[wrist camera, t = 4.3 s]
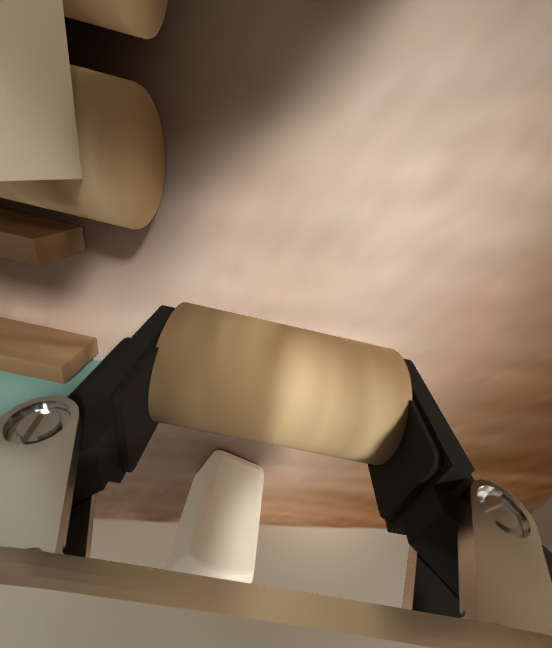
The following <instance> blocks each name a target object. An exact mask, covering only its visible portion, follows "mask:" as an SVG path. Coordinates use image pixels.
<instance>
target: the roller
mask: <svg viewBox="0 0 552 648" xmlns="http://www.w3.org/2000/svg"><path fill="white" fill-rule="evenodd" d="M156 347H159V349H158V352H157V355H156V359H155V362H154V366H153V370H152V375H151V380H150V387H149V396H148V408H149V414H150V417H151V419H152V420H153V421H156V422H161V423H166V424H171V425H176V426H181V427H186V428H191V429H196V430H201V431H206V432H211V433H216V434H221V435H226V436H231V437H236V438H241V439H246V440H251V441H256V442H262V443H267V444H272V445H277V446H282V447H287V448H292V449H297V450H302V451H307V452H312V453H317V454H322V455H327V456H332V457H337V458H342V459H347V460H352V461H357V462H362V463H367V464H372V465H381V464H383V463H385V462H387V461H388V460H389V459H390V458H391V457H392V456H393V455H394V453H395V452H396V450H397V448H398V446H399V444H400V442H401V440H402V437H403V434H404V431H405V427H406V423H407V418H408V410H409V400H412V386H411V379H410V375H409V371H408V368H407V365H406V363H405V361H404V359H403V358H402V356H401V355H400V354H399V353H398V352H396V351H395V350H393V349H389V348H385V347H380V346H376V345H372V344H367V343H363V342H358V341H354V340H350V339H345V338H341V337H336V336H332V335H328V334H323V333H319V332H314V331H310V330H306V329H301V328H297V327H292V326H288V325H284V324H279V323H275V322H270V321H266V320H262V319H257V318H253V317H248V316H244V315H240V314H235V313H231V312H226V311H222V310H218V309H213V308H209V307H204V306H200V305H195V304H191V303H187V302H183V303H181V304H180V305H178V306H177V307H176V308H175V310H174V311H173V312H172V314H171V315H170V317H169V319H168V320H167V322H166V324H165V326H164V328H163V330H162V333H161V335H160V337H159V340H158V342H157V345H156Z"/></svg>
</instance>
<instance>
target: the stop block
mask: <svg viewBox="0 0 552 648" xmlns="http://www.w3.org/2000/svg"><path fill="white" fill-rule="evenodd" d="M100 363H101V362H98V361H93V360H90V361H89V362H88V363H87V364H86V365H85V366H83V367H82V368H81V369H80V370H79V371H78V372H77V373H76V374H75V375H74V376H73V377H71V378H70V379H69V380H68V381H67V382H66V383H65V384H62V383H57V382H52V381H47V380H43V379H38V378H33V377H28V376H23V375H18V374H13V373H9V372H4V371H0V418H1V417H2V416H3V415H4V414H6V413H7V412H8V411H9V410H11V409H12V408H14V407H16V406H17V405H19V404H21V403H24V402H26V401H29V400H31V399H34V398H39V397H44V396H62V397H68V396H69V395H70V394H71V393H72V392H73V391H74V389H75V388H76V387H77V386H78V385H79V384H80V383H81V382H82V381H83V380H84V379H85V378H86V377H87V376H88V375H89V374H90V373H91V372H92V371H93V370H94V369H95V368H96V367H97V366H98V365H99V364H100Z"/></svg>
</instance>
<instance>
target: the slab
mask: <svg viewBox="0 0 552 648" xmlns="http://www.w3.org/2000/svg"><path fill="white" fill-rule="evenodd" d="M58 179H82V170H81V163H80V156H79V143H78V134H77V126H76V117H75V108H74V99H73V90H72V81H71V73H70V64H69V55H68V46H67V37H66V28H65V20H64V11H63V2H62V0H0V181H22V180H58Z"/></svg>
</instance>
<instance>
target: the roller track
mask: <svg viewBox="0 0 552 648" xmlns="http://www.w3.org/2000/svg"><path fill="white" fill-rule="evenodd" d="M62 2H63V11H64V17H68V18H72V19H75V20H79V21H82V22H86V23H90V24H93V25H97V26H100V27H104V28H108V29H111V30H115V31H118V32H122V33H126V34H129V35H133V36H136V37H140V38H143V39H151V38H153V37H155V36H156V35H157V33H158V32H159V30H160V28H161V26H162V23H163V20H164V17H165V13H166V8H167V2H168V0H62ZM70 73H71V81H72V90H73V99H74V108H75V117H76V126H77V134H78V143H79V156H80V163H81V170H82V179H58V180H22V181H0V197H1V198H5V199H9V200H13V201H17V202H21V203H26V204H30V205H34V206H38V207H42V208H46V209H51V210H55V211H59V212H63V213H67V214H72V215H76V216H80V217H84V218H88V219H92V220H97V221H101V222H105V223H109V224H113V225H117V226H122V227H126V228H130V229H141V228H143V227H145V226H146V225H147V224H148V223H149V222H150V221H151V220H152V218H153V217H154V215H155V213H156V212H157V209H158V207H159V204H160V201H161V198H162V194H163V189H164V182H165V172H166V152H165V141H164V135H163V129H162V125H161V121H160V117H159V114H158V112H157V109H156V107H155V104H154V102H153V100H152V98H151V97H150V95H149V94H148V92H147V91H146V90H145V89H144V88H143V87H142V86H141V85H140V84H138V83H136V82H134V81H131V80H127V79H123V78H120V77H116V76H112V75H108V74H105V73H101V72H97V71H94V70H90V69H86V68H82V67H79V66H75V65H71V64H70ZM83 250H85V242H84V234H83V227H82V226H78V225H73V224H69V223H65V222H61V221H57V220H52V219H48V218H44V217H40V216H35V215H31V214H27V213H23V212H19V211H14V210H10V209H6V208H2V207H0V258H5V259H9V260H13V261H18V262H22V263H26V264H31V265H35V266H42V265H45V264H47V263H50V262H53V261H56V260H58V259H61V258H64V257H67V256H69V255H72V254H75V253H77V252H80V251H83ZM97 354H98V349H97V340H96V338H93V337H88V336H84V335H79V334H75V333H70V332H65V331H61V330H56V329H52V328H47V327H42V326H38V325H33V324H28V323H24V322H19V321H15V320H10V319H5V318H1V317H0V371H4V372H9V373H13V374H18V375H23V376H28V377H33V378H38V379H43V380H47V381H52V382H57V383H62V384H65V383H66V382H67V381H68V380H69V379H70V378H71V377H73V376H74V375H75V374H76V373H77V372H78V371H79V370H80V369H81V368H82V367H83V366H85V365H86V364H87V363H88V362H89V361H90V360H91V359H92V358H93V357H94V356H96V355H97Z"/></svg>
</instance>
